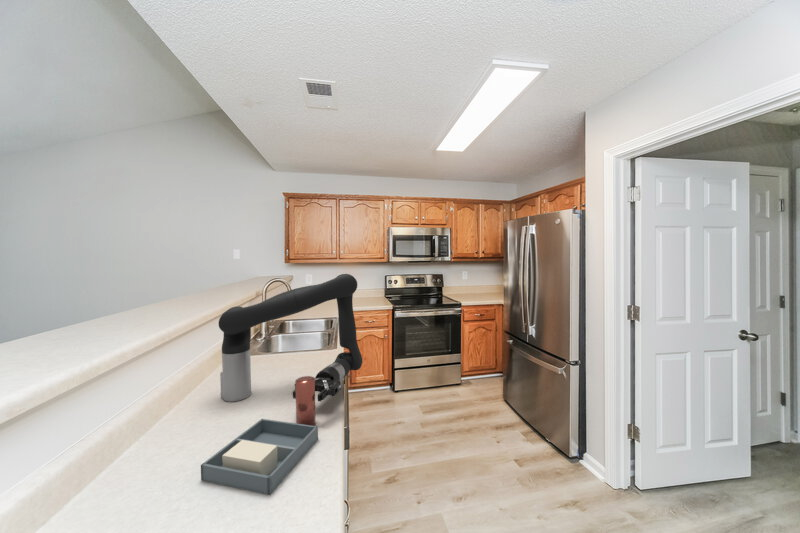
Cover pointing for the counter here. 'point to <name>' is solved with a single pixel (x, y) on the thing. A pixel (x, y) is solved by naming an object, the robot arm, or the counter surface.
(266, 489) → the tray
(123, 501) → the counter surface
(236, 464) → the cream block
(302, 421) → the copper cylinder
